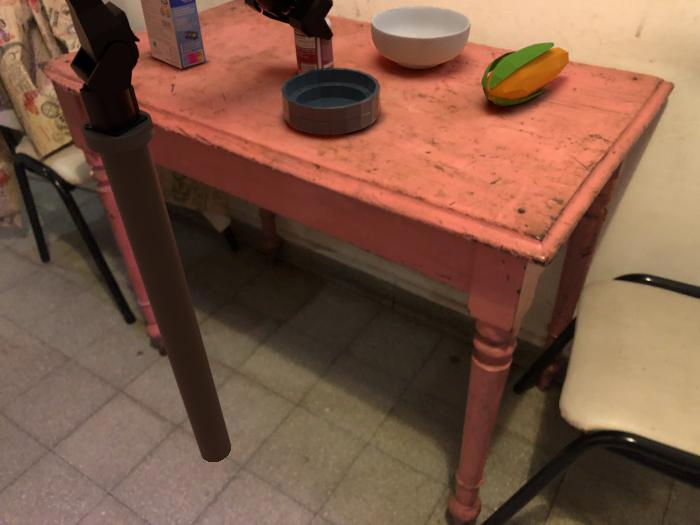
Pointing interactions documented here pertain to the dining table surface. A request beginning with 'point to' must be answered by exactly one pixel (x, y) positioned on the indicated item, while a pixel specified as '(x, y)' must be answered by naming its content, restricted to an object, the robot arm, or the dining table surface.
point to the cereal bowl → (420, 35)
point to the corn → (523, 73)
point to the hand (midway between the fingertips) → (320, 32)
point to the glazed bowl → (331, 100)
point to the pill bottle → (313, 52)
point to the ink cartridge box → (174, 31)
